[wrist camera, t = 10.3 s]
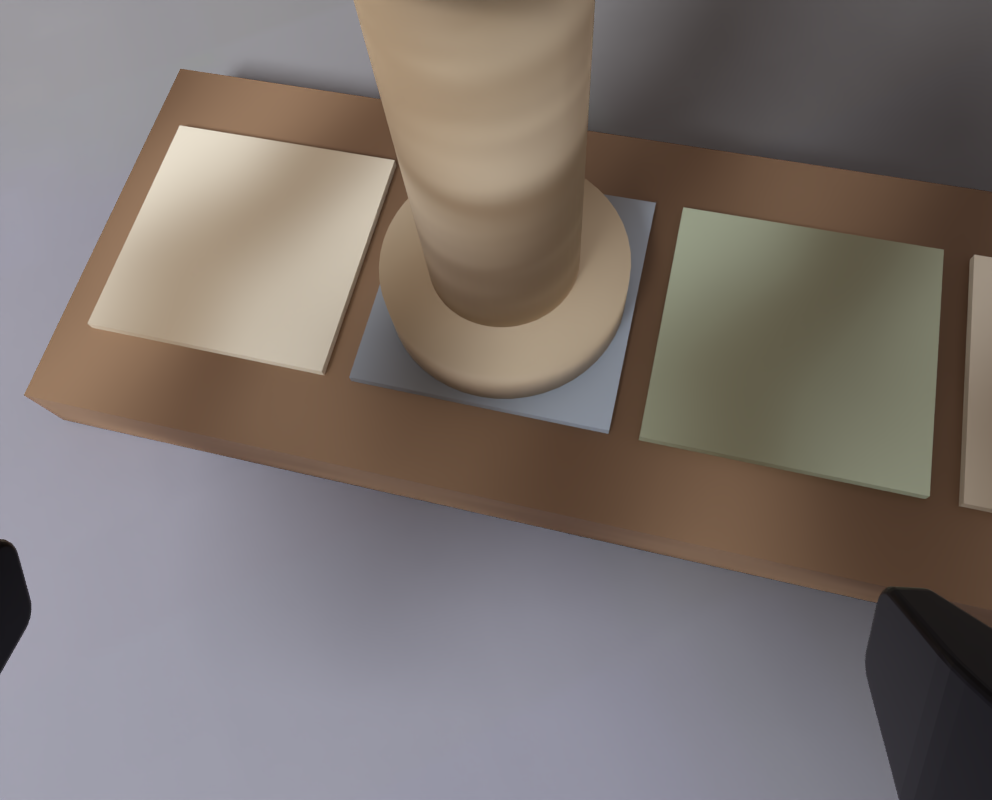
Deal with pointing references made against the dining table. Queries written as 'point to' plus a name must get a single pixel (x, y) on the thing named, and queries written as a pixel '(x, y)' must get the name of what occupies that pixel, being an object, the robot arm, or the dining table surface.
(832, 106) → the dining table surface
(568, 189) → the pawn
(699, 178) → the game board
